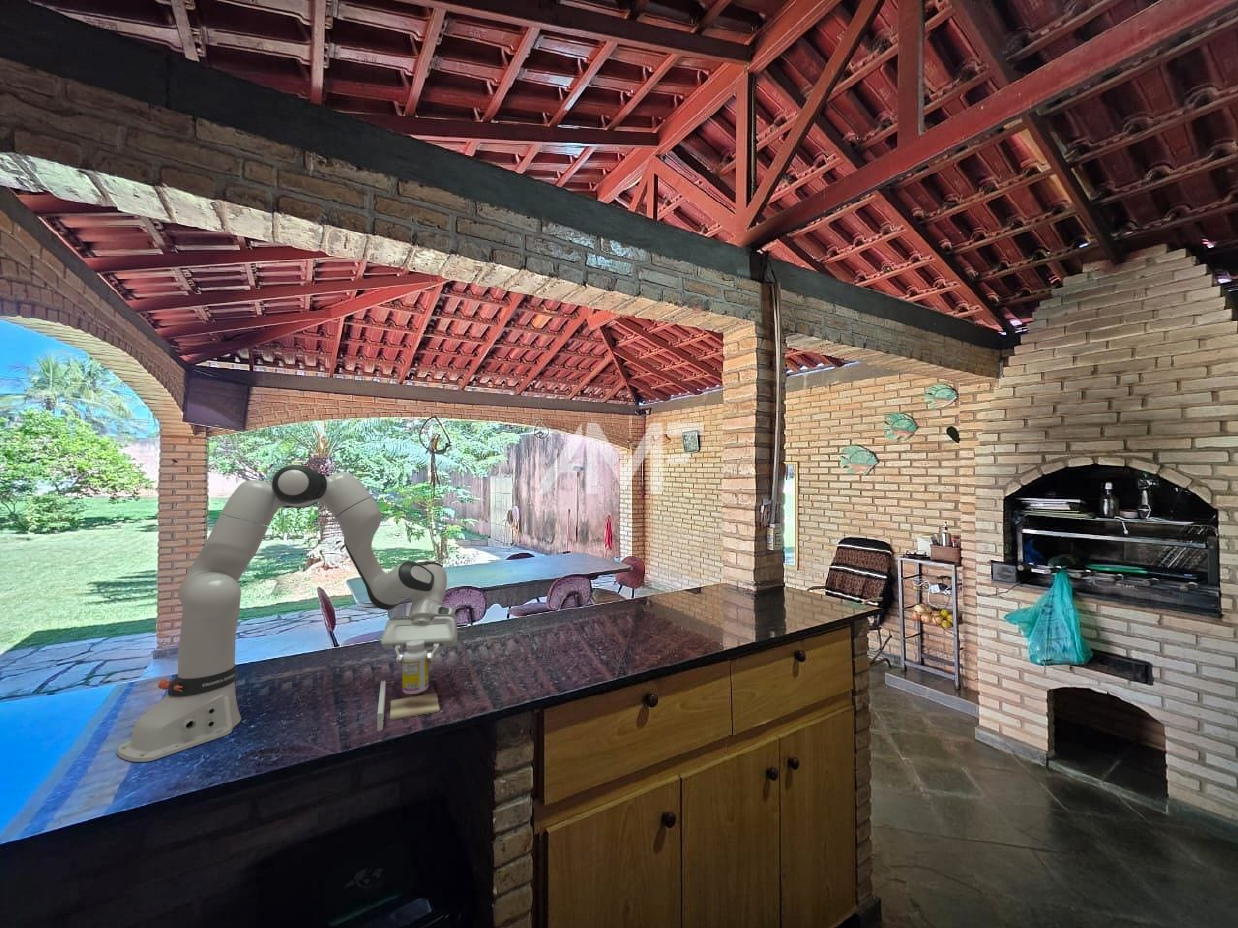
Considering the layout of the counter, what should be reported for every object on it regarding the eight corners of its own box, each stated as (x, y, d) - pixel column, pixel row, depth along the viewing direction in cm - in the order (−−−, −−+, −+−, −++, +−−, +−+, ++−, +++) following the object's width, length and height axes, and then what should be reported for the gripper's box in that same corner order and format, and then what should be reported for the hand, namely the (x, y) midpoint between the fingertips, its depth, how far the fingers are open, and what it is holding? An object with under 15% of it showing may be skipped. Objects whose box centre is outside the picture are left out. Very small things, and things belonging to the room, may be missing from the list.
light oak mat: (439, 712, 130) (439, 709, 130) (390, 721, 125) (390, 718, 125) (436, 694, 141) (436, 692, 141) (390, 702, 136) (391, 700, 136)
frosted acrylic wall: (382, 731, 120) (382, 712, 120) (377, 732, 119) (377, 713, 119) (385, 696, 140) (385, 680, 140) (380, 697, 139) (381, 681, 139)
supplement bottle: (420, 682, 138) (421, 636, 138) (433, 688, 134) (433, 641, 134) (397, 690, 133) (397, 642, 133) (409, 697, 128) (409, 647, 129)
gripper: (385, 611, 140) (371, 658, 129) (458, 608, 142) (451, 654, 132) (390, 622, 144) (377, 668, 134) (461, 619, 146) (454, 664, 136)
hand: (414, 661), depth 133 cm, fingers closed on supplement bottle, 7 cm apart
